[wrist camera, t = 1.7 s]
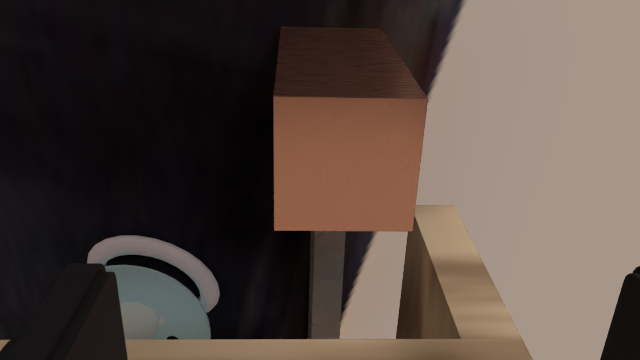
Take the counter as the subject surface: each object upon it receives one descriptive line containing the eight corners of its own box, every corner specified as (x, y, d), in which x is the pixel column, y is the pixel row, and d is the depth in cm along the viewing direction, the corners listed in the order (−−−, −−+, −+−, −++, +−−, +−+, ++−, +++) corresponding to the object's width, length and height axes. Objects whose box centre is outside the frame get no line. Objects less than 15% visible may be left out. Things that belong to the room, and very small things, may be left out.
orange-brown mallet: (280, 26, 23) (273, 96, 15) (381, 28, 23) (427, 99, 15) (280, 396, 32) (276, 567, 24) (353, 396, 32) (373, 565, 24)
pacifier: (99, 206, 26) (58, 303, 28) (48, 286, 21) (1, 400, 23) (245, 266, 28) (196, 353, 30) (234, 354, 22) (175, 454, 25)
